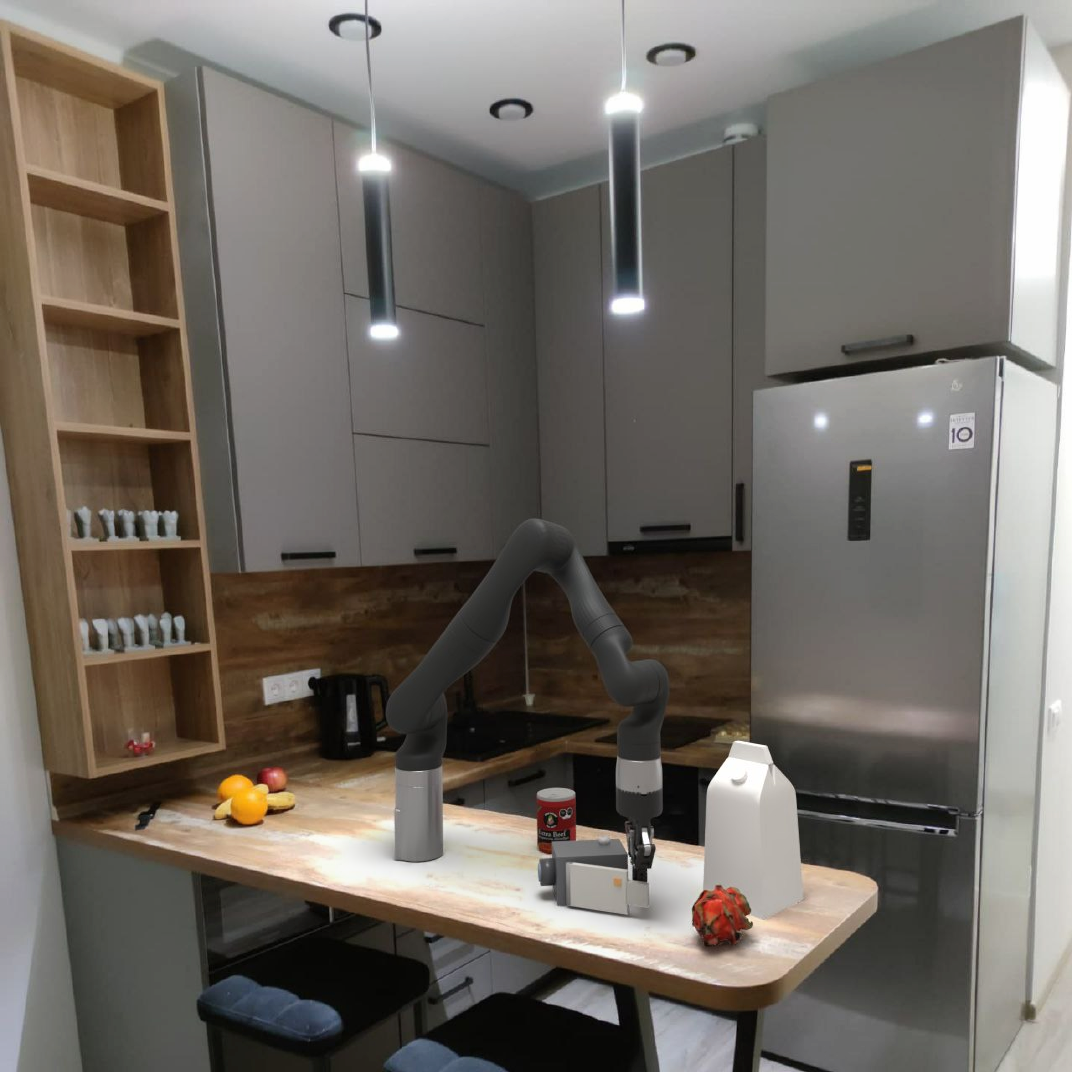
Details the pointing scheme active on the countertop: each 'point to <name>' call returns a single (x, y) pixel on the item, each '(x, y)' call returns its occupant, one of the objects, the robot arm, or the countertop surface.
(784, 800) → the milk
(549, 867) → the camera body
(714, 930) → the dragon fruit
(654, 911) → the countertop surface
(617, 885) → the side door
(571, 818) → the canned food
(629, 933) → the countertop surface
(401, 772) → the robot arm
